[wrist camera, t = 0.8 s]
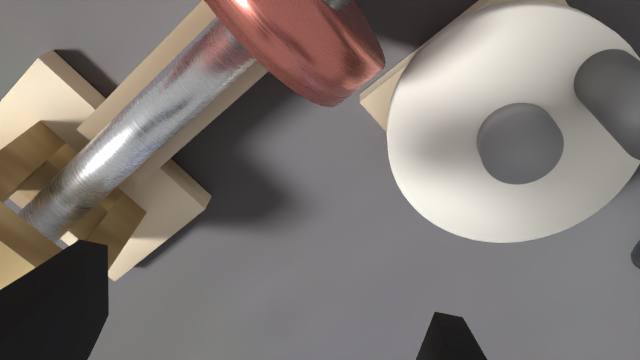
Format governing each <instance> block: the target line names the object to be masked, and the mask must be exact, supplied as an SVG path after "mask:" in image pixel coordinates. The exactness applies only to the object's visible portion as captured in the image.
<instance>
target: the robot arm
mask: <svg viewBox="0 0 640 360" xmlns="http://www.w3.org/2000/svg"><path fill="white" fill-rule="evenodd" d="M107 317H108V245H105V244H100V243H95V242H90V241H85V240H78V241H77V242H75V243H74V244H72V245H70V246H69V247H67V248H65V249H64V250H62V251H61V252H59V253H58V254H56V255H54V256H53V257H51V258H50V259H48V260H47V261H45V262H44V263H42V264H40V265H39V266H37V267H36V268H34V269H33V270H31V271H29V272H28V273H26V274H25V275H23V276H22V277H20V278H18V279H17V280H15V281H14V282H12V283H10V284H9V285H7V286H5V287H4V288H2V289H1V290H0V360H87V359H88V357H89V355H90V353H91V351H92V349H93V347H94V345H95V343H96V341H97V339H98V337H99V335H100V332H101V330H102V328H103V326H104V324H105V321H106V319H107ZM416 360H487V358H486V357H485V355H484V353H483V352H482V350H481V348H480V346H479V345H478V343H477V341H476V339H475V338H474V336H473V334H472V333H471V331H470V329H469V327H468V326H467V324H466V322H465V321H464V319H463V317H458V316H454V315H449V314H444V313H439V312H435V313H434V315H433V318H432V320H431V323H430V326H429V328H428V331H427V333H426V336H425V338H424V341H423V343H422V346H421V348H420V351H419V353H418V356H417V358H416Z"/></svg>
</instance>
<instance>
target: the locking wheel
mask: <svg viewBox="0 0 640 360" xmlns="http://www.w3.org/2000/svg"><path fill="white" fill-rule="evenodd" d="M387 144H388V156H389V161H390V165H391V169H392V172H393V175H394V177H395V180H396V182H397V184H398V186H399V188H400V189H401V191H402V193H403V195H404V196H405V197H406V199H407V200H408V201H409V202H410V204H411V205H412V206H413V207H414V208H415V209H416V210H417V211H418V212H419V213H420V214H421V215H422V216H424V217H425V218H426V219H428V220H429V221H431V222H432V223H433V224H435V225H437V226H439V227H440V228H442V229H444V230H446V231H448V232H451V233H453V234H456V235H458V236H462V237H465V238H469V239H473V240H478V241H485V242H499V243H508V242H522V241H528V240H534V239H538V238H542V237H546V236H549V235H553V234H555V233H558V232H560V231H563V230H566V229H568V228H570V227H572V226H574V225H576V224H578V223H580V222H582V221H583V220H585V219H587V218H588V217H590V216H591V215H593V214H595V213H596V212H597V211H598V210H600V209H601V208H602V207H604V206H605V205H606V204H607V203H609V202H610V201H611V200H612V199H613V198H614V197H615V196H616V195H617V194H618V193H619V192H620V191H621V189H622V188H623V187H624V186H625V185H626V183H627V182H628V181H629V180H630V178H631V177H632V175H633V174H634V172H635V171H636V169H637V167H638V166H639V164H640V58H639V57H638V55H637V54H636V53H635V51H634V50H633V49H632V48H631V46H630V45H629V44H628V43H627V42H626V41H625V40H624V39H623V38H622V37H621V36H619V35H618V34H617V33H616V32H614V31H613V30H611V29H610V28H608V27H607V26H605V25H604V24H602V23H601V22H599V21H598V20H596V19H595V18H593V17H592V16H590V15H588V14H586V13H584V12H582V11H580V10H577V9H575V8H572V7H569V6H565V5H562V4H558V3H552V2H545V1H514V2H506V3H501V4H497V5H493V6H489V7H485V8H482V9H480V10H477V11H475V12H472V13H469V14H467V15H465V16H463V17H462V18H460V19H458V20H456V21H454V22H452V23H451V24H449V25H448V26H446V27H445V28H443V29H442V30H440V31H439V32H438V33H436V34H435V35H434V36H433V37H432V38H431V39H430V40H428V41H427V42H426V43H425V44H424V45H423V46H422V47H421V48H420V49H419V51H418V52H417V53H416V54H415V55H414V56H413V57H412V59H411V60H410V62H409V63H408V65H407V66H406V68H405V69H404V71H403V72H402V74H401V76H400V78H399V80H398V82H397V84H396V86H395V89H394V92H393V95H392V98H391V100H390V105H389V110H388V115H387Z"/></svg>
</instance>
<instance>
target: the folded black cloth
mask: <svg viewBox="0 0 640 360" xmlns="http://www.w3.org/2000/svg"><path fill="white" fill-rule="evenodd" d="M631 258H632V262H633V263H634V265H635V266H636V267H637V268H639V269H640V240H639V242H638V243H637V244H636V246H635V247H634V249H633V251H632V253H631Z"/></svg>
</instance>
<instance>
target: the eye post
mask: <svg viewBox="0 0 640 360" xmlns="http://www.w3.org/2000/svg"><path fill="white" fill-rule="evenodd" d="M215 17H216V15H215V14H214V12H213V11H212V10H211V8H210V7H209V6H208V4H207V3H206V2H205V0H203V1H202V2H201V3H200V4H199V5H198V6H197V7H196V8H195V9H194V10H193V11H192V12H191V13H190V14H189V15H188V16H187V17H186V18H185V19H184V20H183V21H182V22H181V23H180V24H179V25H178V26H177V27H176V28H175V29H174V30H173V31H172V32H171V33H170V34H169V35H168V36H167V37H166V38H165V39H164V40H163V41H162V42H161V43H160V44H159V46H158V47H157V48H156V49H155V50H154V51H153V52H152V53H151V54H150V55H149V56H148V57H147V58H146V59H145V60H144V61H143V62H142V63H141V64H140V65H139V66H138V67H137V68H136V69H135V70H134V71H133V72H132V73H131V74H130V75H129V76H128V77H127V78H126V79H125V80H124V81H123V82H122V83H121V84H120V85H119V86H118V87H117V88H116V89H115V90H114V91H113V92H112V94H111V95H110V96H109V97H108V98H107V99H106V98H105V97H103V96H102V95H101V94H100V93H99V92H98V91H97V90H96V89H95V88H94V87H93V86H91V85H90V84H89V83H88V82H87V81H86V80H85V79H84V78H83V77H82V76H81V75H79V74H78V73H77V72H76V71H75V70H74V69H73V68H72V67H71V66H70V65H69V64H67V63H66V62H65V61H64V60H63V59H62V58H61V57H60V56H59V55H58V54H57V53H56V52H54V51H53V50H52V51H50V52H48V53H46V54H44V55H43V56H41V57H39V58H38V59H37V60H36V61H35V62H34V63H33V64H32V66H31V67H30V68H29V69H28V70H27V71H26V73H25V74H24V75H23V76H22V77H21V78H20V80H19V81H18V82H17V83H16V84H15V85H14V87H13V88H12V89H11V90H10V91H9V92H8V94H7V95H6V96H5V97H4V98H3V99H2V101H1V102H0V290H1V289H2V288H4V287H5V286H7V285H9V284H10V283H12V282H14V281H15V280H17V279H18V278H20V277H22V276H23V275H25V274H26V273H28V272H29V271H31V270H33V269H34V268H36V267H37V266H39V265H40V264H42V263H44V262H45V261H47V260H48V259H50V258H51V257H53V256H54V255H56V254H58V253H59V252H61V251H62V249H61V248H60V247H59V246H57V245H56V244H55V243H53V242H52V241H51V240H50V239H48V238H47V237H46V236H44V235H43V234H42V233H41V232H39V231H38V230H37V229H36V228H34V227H33V226H32V225H30V224H29V223H28V222H27V221H25V220H24V219H23V218H21V217H20V216H19V215H18V214H16V213H15V212H14V211H12V210H11V209H10V208H9V207H7V206H6V205H5V204H4V202H5V201H6V200H7V199H8V198H9V199H11V200H12V201H13V202H14V203H16V204H17V205H18V206H19V207H21V208H24V207H25V206H26V205H27V204H28V203H29V202H30V201H31V200H32V199H33V198H34V197H35V196H36V195H37V194H38V193H39V192H40V191H41V190H42V189H43V188H44V187H45V186H46V185H47V184H48V183H49V182H50V181H51V180H52V179H53V178H54V177H55V176H56V175H57V174H58V173H59V172H60V171H61V170H62V169H63V168H64V167H65V166H66V165H67V164H68V163H69V162H70V161H71V160H72V159H73V158H74V157H75V156H76V155H77V154H78V153H79V152H80V151H81V150H82V149H83V148H84V147H85V146H86V145H87V144H88V143H89V142H90V141H91V140H92V139H93V138H94V137H95V136H96V135H97V134H98V133H99V132H100V131H101V130H102V129H103V128H104V127H105V126H106V125H107V124H108V123H109V122H110V121H111V120H112V119H113V118H114V117H115V116H116V115H117V114H118V113H119V112H120V111H121V110H123V109H124V108H125V107H126V106H127V105H128V104H129V103H130V102H131V101H132V100H133V99H134V98H135V97H136V96H137V95H138V94H139V93H140V92H141V91H142V90H143V89H144V88H145V87H146V86H147V85H148V84H149V83H150V82H151V81H152V80H153V79H154V78H155V77H156V76H157V75H158V74H159V73H160V72H161V71H162V70H163V69H164V68H165V67H166V66H167V65H168V64H169V63H170V62H171V61H172V60H173V59H174V58H175V57H176V56H177V55H178V54H179V53H180V52H181V51H182V50H183V49H184V48H185V47H186V46H187V45H188V44H189V43H190V42H191V41H192V40H193V39H194V38H195V37H196V36H197V35H198V34H199V33H200V32H201V31H202V30H203V29H204V28H205V27H206V26H207V25H208V24H209V23H210V22H211V21H212V20H213V19H214V18H215ZM267 72H268V70H267V69H266V68H265V67H263V66H262V65H261V64H260V63H259V62H258V61H256V62H255V63H253V64H252V65H251V66H250V67H249V68H248V69H247V70H246V71H245V72H243V73H242V74H241V75H240V76H239V77H238V78H237V79H236V80H235V81H234V82H232V83H231V84H230V85H229V86H228V87H227V88H226V89H225V90H224V91H222V92H221V93H220V94H219V95H218V96H217V97H216V98H215V99H214V100H213V101H211V102H210V103H209V104H208V105H207V106H206V107H205V108H204V109H203V110H202V111H200V112H199V113H198V114H197V115H196V116H195V117H194V118H193V119H192V120H190V121H189V122H188V123H187V124H186V125H185V126H184V127H183V128H182V129H181V130H179V131H178V132H177V133H176V134H175V135H174V136H173V137H172V138H171V139H169V140H168V141H167V142H166V143H165V144H164V145H163V146H162V147H161V148H160V149H158V150H157V151H156V152H155V153H154V154H153V155H152V156H151V157H150V158H149V159H147V160H146V161H145V162H144V163H143V164H142V165H141V166H140V167H139V168H137V169H136V170H135V171H134V172H133V173H132V174H131V175H130V176H129V177H128V178H126V179H125V180H124V181H123V182H122V183H121V184H120V185H119V186H118V187H117V188H115V189H114V190H113V191H112V192H111V193H110V194H109V195H108V196H107V197H105V198H104V199H103V200H102V201H101V202H100V203H99V204H98V205H97V206H96V207H94V208H93V209H92V210H91V211H90V212H89V213H88V214H87V215H86V216H84V217H83V218H82V219H81V220H80V221H79V222H78V223H77V224H76V225H75V226H73V227H72V228H71V229H70V230H69V231H68V232H67V233H66V234H65V235H64V236H62V237H61V238H60V239H61V240H63V241H64V242H65V243H66V244H68V245H69V246H70V245H72V244H74V243H75V242H77V241H78V240H85V241H90V242H95V243H100V244H105V245H108V277H110V278H111V279H112V280H113V281H116V280H117V279H118V278H120V277H121V276H122V275H123V274H125V273H126V272H127V271H128V270H130V269H131V268H132V267H133V266H135V265H136V264H137V263H138V262H140V261H141V260H142V259H144V258H145V257H146V256H147V255H149V254H150V253H151V252H152V251H154V250H155V249H156V248H157V247H159V246H160V245H161V244H162V243H164V242H165V241H166V240H167V239H169V238H170V237H171V236H172V235H174V234H175V233H176V232H177V231H179V230H180V229H181V228H182V227H184V226H185V225H186V224H187V223H189V222H190V221H191V220H192V219H194V218H195V217H196V216H197V215H199V214H200V213H201V212H202V211H204V210H205V209H206V207H207V205H208V203H209V201H210V199H211V197H212V196H211V195H210V194H209V193H208V192H207V191H206V190H205V189H204V188H203V187H201V186H200V185H199V184H198V183H197V182H196V181H195V180H194V179H193V178H192V177H191V176H189V175H188V174H187V173H186V172H185V171H184V170H183V169H182V168H181V167H180V166H179V165H177V164H176V163H175V162H174V161H173V160H172V159H171V157H172V156H173V155H174V154H176V153H177V152H178V151H179V150H180V149H181V148H182V147H183V146H185V145H186V144H187V143H188V142H189V141H190V140H191V139H193V138H194V137H195V136H196V135H197V134H198V133H199V132H200V131H202V130H203V129H204V128H205V127H206V126H207V125H208V124H209V123H211V122H212V121H213V120H214V119H215V118H216V117H217V116H219V115H220V114H221V113H222V112H223V111H224V110H225V109H226V108H228V107H229V106H230V105H231V104H232V103H233V102H234V101H235V100H237V99H238V98H239V97H240V96H241V95H242V94H243V93H245V92H246V91H247V90H248V89H249V88H250V87H251V86H252V85H254V84H255V83H256V82H257V81H258V80H259V79H260V78H261V77H263V76H264V75H265V74H266V73H267Z"/></svg>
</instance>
